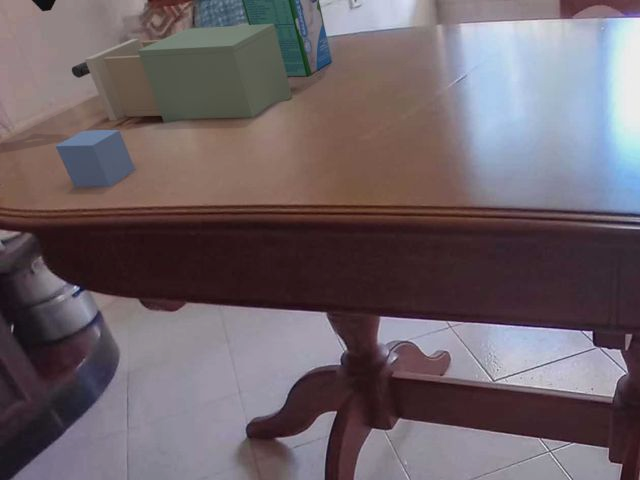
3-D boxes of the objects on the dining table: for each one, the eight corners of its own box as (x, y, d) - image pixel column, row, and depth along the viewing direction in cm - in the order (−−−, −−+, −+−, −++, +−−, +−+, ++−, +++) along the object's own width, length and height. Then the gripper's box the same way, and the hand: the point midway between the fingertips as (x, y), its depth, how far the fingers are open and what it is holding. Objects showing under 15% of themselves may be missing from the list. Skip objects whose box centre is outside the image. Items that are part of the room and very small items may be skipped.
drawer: (81, 121, 106) (54, 60, 100) (127, 97, 114) (104, 40, 109) (189, 118, 102) (167, 54, 96) (228, 94, 110) (209, 34, 105)
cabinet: (165, 126, 102) (137, 50, 96) (209, 99, 112) (186, 28, 106) (255, 124, 99) (232, 45, 93) (292, 96, 109) (274, 23, 103)
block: (113, 194, 82) (92, 145, 79) (77, 194, 83) (54, 145, 80) (139, 177, 86) (119, 129, 83) (104, 177, 87) (83, 130, 84)
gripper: (-136, -174, 85) (23, -14, 91) (-43, -163, 96) (94, -20, 102) (-151, -123, 89) (3, 28, 95) (-60, -117, 100) (73, 18, 106)
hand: (50, 3), depth 98 cm, fingers closed
